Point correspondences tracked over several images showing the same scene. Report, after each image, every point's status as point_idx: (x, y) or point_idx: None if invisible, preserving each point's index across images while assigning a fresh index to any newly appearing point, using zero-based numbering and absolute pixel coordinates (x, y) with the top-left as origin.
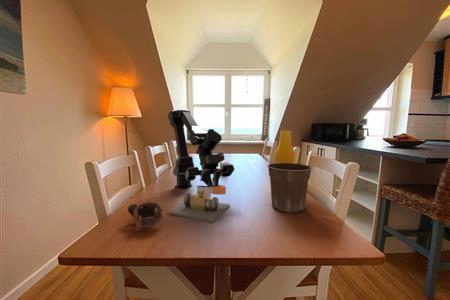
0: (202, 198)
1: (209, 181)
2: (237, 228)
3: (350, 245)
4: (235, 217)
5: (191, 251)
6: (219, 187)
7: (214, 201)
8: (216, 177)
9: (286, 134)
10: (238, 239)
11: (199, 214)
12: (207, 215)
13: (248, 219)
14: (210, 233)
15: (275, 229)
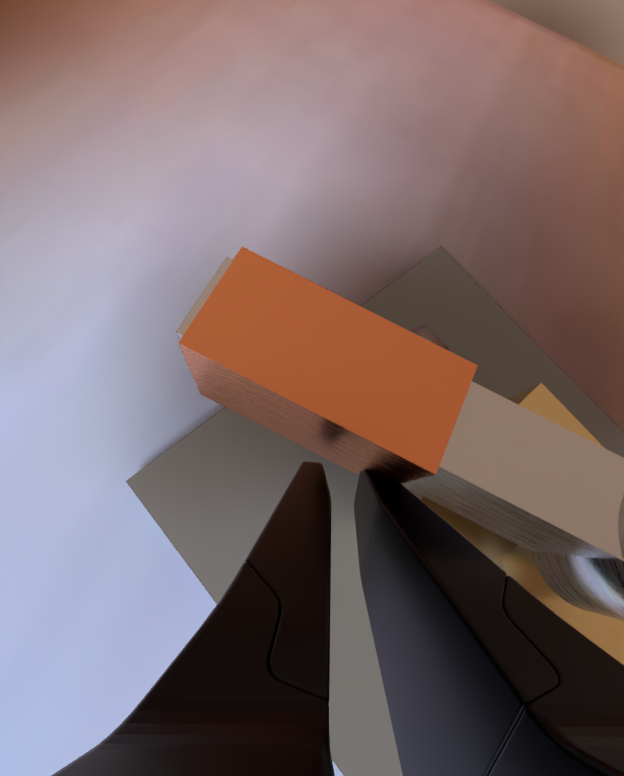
0: (560, 404)
1: (547, 608)
2: (313, 129)
3: None
4: (234, 251)
5: (607, 89)
6: (347, 307)
7: None
8: (289, 708)
9: None
10: (369, 52)
11: (512, 391)
12: (454, 340)
13: (163, 180)
14: (488, 162)
15: (106, 15)
